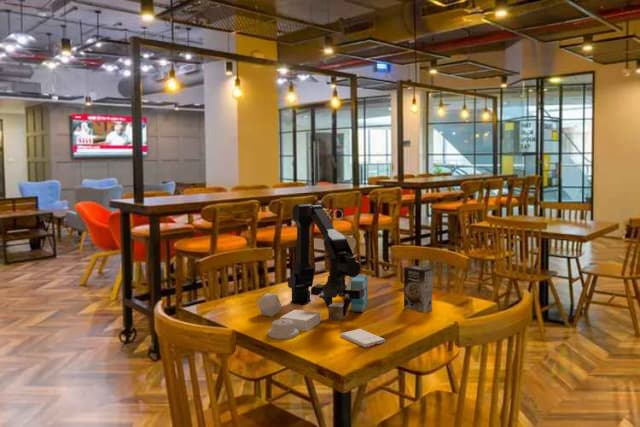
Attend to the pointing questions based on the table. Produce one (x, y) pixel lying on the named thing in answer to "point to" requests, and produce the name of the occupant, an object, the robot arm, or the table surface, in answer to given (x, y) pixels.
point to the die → (269, 304)
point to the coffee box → (418, 288)
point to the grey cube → (336, 311)
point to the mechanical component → (283, 329)
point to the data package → (361, 303)
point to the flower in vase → (352, 245)
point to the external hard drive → (362, 338)
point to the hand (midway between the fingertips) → (337, 314)
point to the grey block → (303, 319)
